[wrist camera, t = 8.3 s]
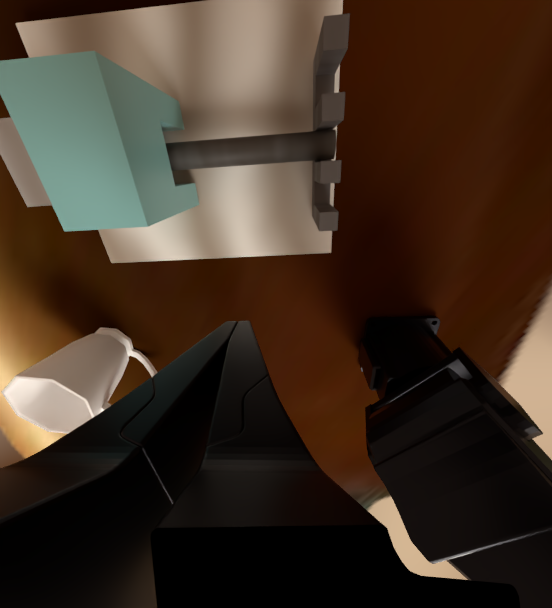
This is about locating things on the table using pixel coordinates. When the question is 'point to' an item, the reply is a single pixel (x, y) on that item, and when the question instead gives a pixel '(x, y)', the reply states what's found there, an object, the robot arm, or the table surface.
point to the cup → (73, 381)
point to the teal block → (96, 140)
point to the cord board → (222, 120)
